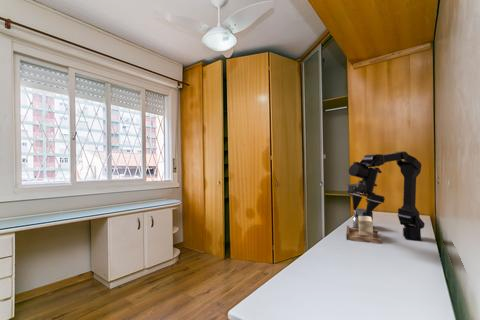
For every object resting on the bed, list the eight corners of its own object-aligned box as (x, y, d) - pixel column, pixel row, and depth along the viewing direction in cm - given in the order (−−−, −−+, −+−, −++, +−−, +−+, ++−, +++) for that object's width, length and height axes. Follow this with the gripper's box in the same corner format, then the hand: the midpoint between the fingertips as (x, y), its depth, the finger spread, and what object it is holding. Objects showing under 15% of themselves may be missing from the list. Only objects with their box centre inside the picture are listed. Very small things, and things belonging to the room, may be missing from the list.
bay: (377, 233, 124) (377, 228, 124) (381, 243, 109) (380, 237, 109) (347, 230, 130) (346, 225, 130) (346, 239, 116) (346, 233, 116)
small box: (374, 229, 131) (373, 211, 131) (362, 230, 131) (362, 212, 131) (363, 225, 142) (363, 208, 142) (353, 225, 142) (352, 208, 142)
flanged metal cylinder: (361, 227, 136) (360, 212, 136) (361, 231, 129) (361, 215, 129) (351, 226, 138) (351, 212, 138) (351, 230, 131) (351, 214, 131)
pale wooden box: (371, 233, 123) (371, 216, 123) (373, 239, 113) (372, 221, 113) (358, 232, 125) (358, 215, 125) (359, 238, 115) (358, 220, 116)
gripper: (342, 174, 116) (334, 203, 116) (366, 178, 97) (357, 214, 98) (361, 179, 117) (354, 208, 118) (389, 184, 99) (380, 219, 99)
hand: (360, 212), depth 108 cm, fingers open, 9 cm apart
